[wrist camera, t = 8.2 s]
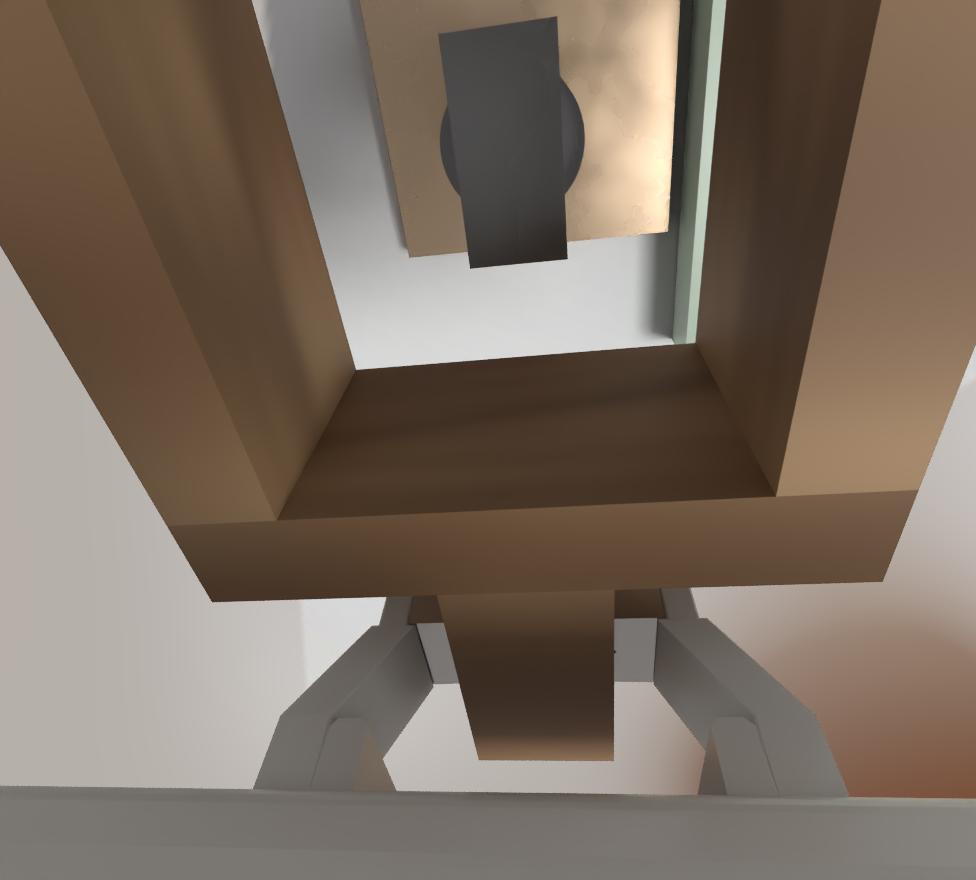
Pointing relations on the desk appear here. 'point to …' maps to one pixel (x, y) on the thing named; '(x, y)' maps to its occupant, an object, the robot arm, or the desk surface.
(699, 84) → the sage tray
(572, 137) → the post stand
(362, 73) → the desk surface
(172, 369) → the walnut collar
